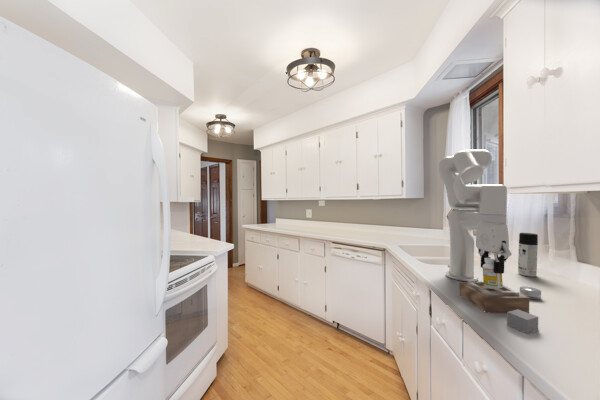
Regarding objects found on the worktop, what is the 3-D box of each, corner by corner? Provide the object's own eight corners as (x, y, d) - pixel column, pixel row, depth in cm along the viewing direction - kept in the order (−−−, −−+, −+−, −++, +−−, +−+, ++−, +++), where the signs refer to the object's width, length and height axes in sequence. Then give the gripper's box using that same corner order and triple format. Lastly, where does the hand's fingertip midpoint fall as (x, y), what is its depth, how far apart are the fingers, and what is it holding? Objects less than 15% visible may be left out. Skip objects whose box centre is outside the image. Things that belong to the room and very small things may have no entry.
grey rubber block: (507, 325, 74) (507, 311, 74) (517, 322, 76) (518, 309, 76) (527, 334, 70) (527, 319, 70) (538, 330, 71) (538, 316, 71)
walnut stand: (459, 295, 96) (459, 279, 96) (496, 295, 96) (496, 280, 96) (485, 312, 82) (486, 294, 82) (529, 312, 82) (529, 294, 82)
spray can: (518, 271, 125) (519, 232, 125) (537, 274, 120) (538, 233, 120) (517, 274, 120) (518, 233, 120) (536, 278, 116) (537, 235, 115)
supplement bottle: (494, 284, 91) (492, 257, 92) (507, 288, 86) (505, 259, 86) (479, 284, 91) (478, 257, 92) (491, 288, 85) (489, 259, 86)
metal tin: (515, 294, 98) (515, 286, 98) (530, 294, 98) (531, 286, 98) (529, 300, 92) (529, 292, 92) (545, 300, 92) (545, 292, 92)
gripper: (466, 217, 97) (465, 263, 97) (501, 222, 80) (500, 278, 80) (485, 217, 97) (485, 263, 97) (525, 222, 80) (523, 278, 80)
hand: (491, 269), depth 89 cm, fingers closed on supplement bottle, 5 cm apart
